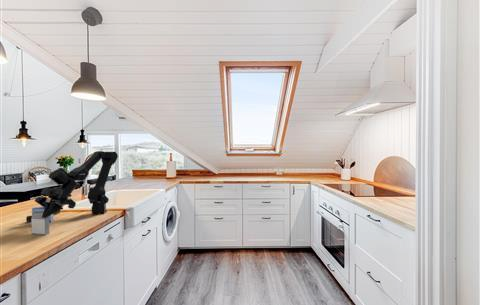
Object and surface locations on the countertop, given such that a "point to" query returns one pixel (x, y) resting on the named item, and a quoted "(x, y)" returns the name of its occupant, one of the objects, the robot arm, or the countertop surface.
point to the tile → (40, 225)
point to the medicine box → (40, 213)
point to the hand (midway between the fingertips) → (42, 218)
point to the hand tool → (31, 216)
